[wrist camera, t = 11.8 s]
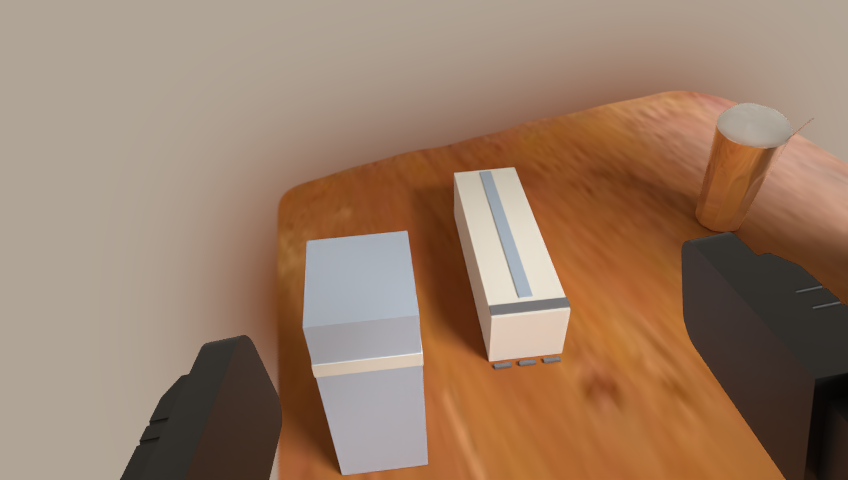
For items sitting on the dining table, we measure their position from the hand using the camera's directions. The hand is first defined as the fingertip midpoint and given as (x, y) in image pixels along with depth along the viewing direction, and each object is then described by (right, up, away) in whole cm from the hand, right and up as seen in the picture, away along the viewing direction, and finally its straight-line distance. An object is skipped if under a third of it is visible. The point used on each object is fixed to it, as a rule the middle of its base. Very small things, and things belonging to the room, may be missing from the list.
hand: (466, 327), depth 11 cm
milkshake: (+22, +3, +34) cm, 40 cm away
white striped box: (+5, -1, +30) cm, 30 cm away
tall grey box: (-3, -9, +22) cm, 24 cm away
